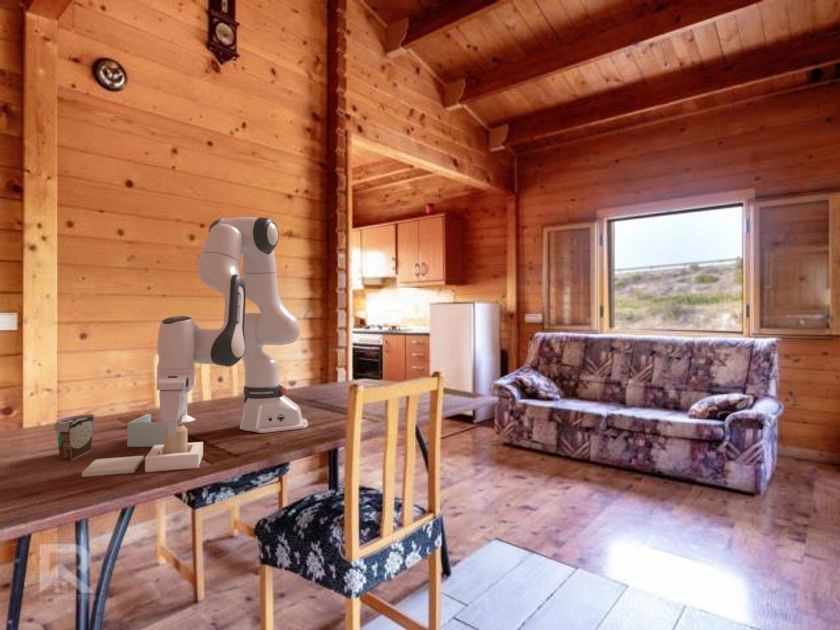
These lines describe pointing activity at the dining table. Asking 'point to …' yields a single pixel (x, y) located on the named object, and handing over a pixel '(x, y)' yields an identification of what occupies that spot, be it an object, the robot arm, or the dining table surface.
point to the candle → (176, 441)
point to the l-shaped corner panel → (145, 432)
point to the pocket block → (174, 458)
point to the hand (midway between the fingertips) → (175, 432)
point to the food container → (74, 436)
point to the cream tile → (113, 466)
